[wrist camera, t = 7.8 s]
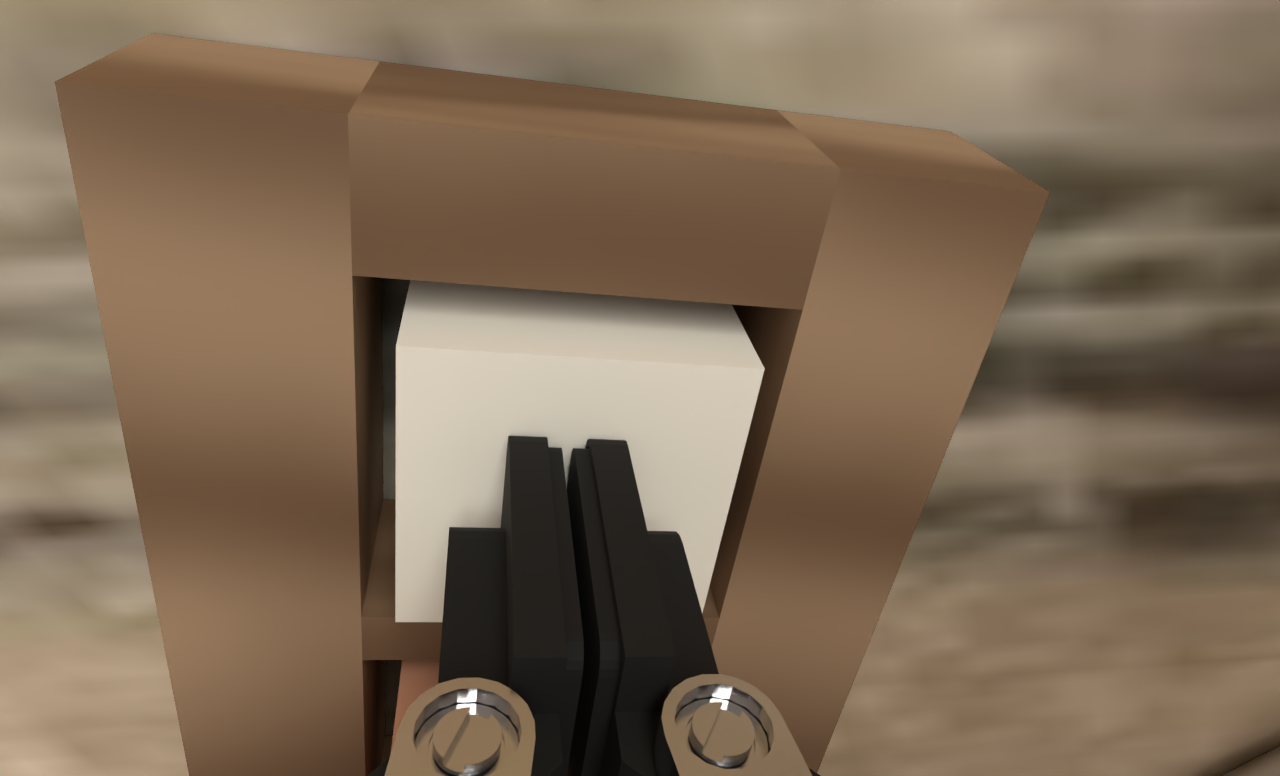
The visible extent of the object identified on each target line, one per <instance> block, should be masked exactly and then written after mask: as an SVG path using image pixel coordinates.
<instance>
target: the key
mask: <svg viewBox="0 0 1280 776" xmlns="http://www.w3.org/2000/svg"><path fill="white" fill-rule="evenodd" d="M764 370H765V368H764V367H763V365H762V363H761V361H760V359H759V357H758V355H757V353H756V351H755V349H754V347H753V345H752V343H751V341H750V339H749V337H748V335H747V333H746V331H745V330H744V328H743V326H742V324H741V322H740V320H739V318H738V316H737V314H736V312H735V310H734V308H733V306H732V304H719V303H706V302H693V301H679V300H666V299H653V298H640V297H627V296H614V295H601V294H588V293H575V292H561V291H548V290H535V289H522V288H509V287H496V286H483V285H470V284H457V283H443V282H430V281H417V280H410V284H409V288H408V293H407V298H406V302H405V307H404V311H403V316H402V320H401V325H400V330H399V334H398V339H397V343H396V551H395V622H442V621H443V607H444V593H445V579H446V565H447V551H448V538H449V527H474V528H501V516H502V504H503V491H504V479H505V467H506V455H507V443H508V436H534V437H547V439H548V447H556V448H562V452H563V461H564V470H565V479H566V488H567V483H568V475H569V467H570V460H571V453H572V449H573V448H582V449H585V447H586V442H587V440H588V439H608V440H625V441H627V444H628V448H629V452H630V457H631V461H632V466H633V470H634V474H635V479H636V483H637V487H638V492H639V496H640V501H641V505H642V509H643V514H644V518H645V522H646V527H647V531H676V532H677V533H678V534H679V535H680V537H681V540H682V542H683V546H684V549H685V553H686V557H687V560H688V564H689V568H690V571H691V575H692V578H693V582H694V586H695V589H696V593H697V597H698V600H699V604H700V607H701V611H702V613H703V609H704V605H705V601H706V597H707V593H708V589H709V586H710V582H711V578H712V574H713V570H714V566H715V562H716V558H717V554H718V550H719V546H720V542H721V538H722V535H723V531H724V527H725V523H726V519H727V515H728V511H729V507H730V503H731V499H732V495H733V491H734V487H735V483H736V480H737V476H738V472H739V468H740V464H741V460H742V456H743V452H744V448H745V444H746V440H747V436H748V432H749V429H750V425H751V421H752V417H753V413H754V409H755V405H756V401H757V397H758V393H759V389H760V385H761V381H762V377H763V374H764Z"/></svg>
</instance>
